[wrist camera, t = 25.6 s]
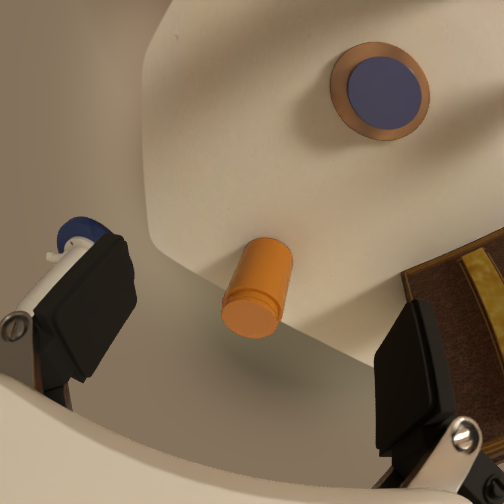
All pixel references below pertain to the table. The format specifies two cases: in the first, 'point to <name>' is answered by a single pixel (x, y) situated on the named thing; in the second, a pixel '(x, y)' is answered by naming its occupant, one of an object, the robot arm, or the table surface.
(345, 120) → the coaster
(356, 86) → the lid
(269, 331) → the jar
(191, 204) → the table surface
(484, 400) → the book
